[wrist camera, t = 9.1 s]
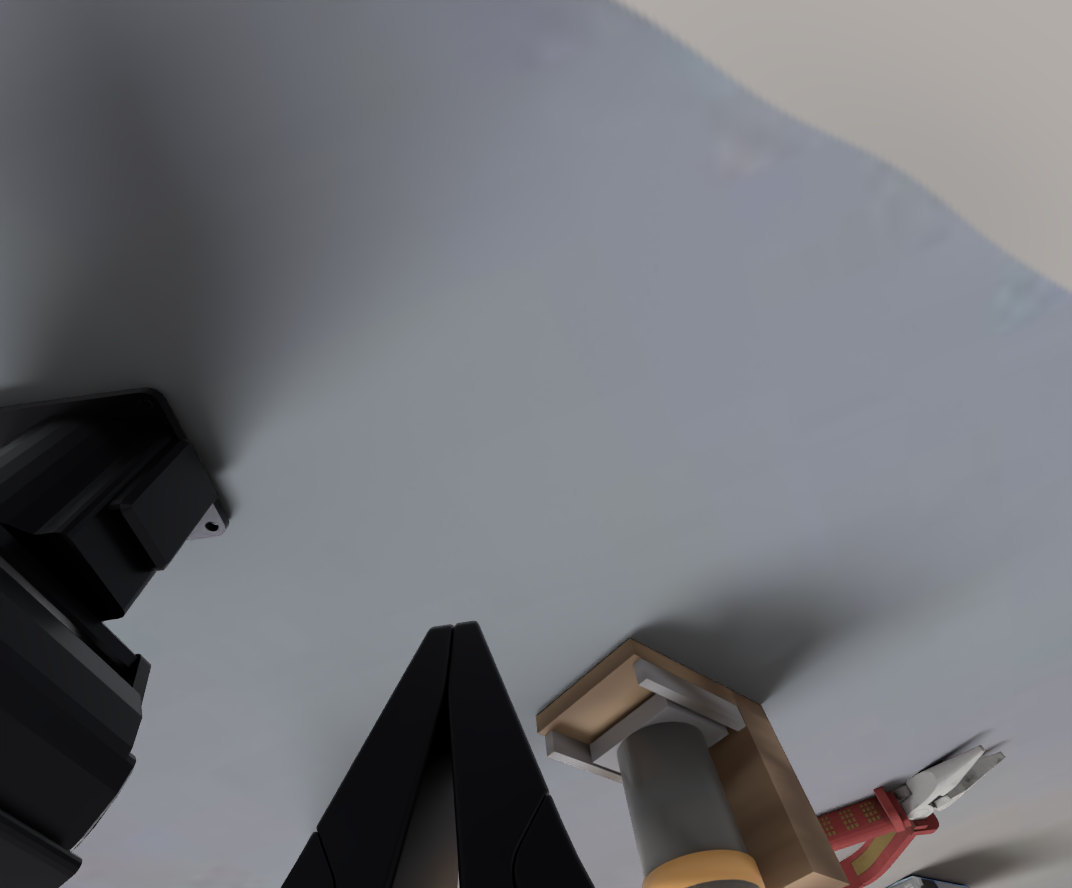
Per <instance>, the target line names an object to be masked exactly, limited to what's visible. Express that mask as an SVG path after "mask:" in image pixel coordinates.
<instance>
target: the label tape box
mask: <svg viewBox="0 0 1072 888" xmlns="http://www.w3.org/2000/svg"><path fill="white" fill-rule="evenodd" d="M887 888H969V887H968V886H963V885H957V884H952V883H947V882H941V881H936V880H931V879H926V878H921V877H916V876H911V877H908V878H906V879H903V880H900V881H898V882H896V883H894V884H892V885H890V886H889V887H887Z"/></svg>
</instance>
